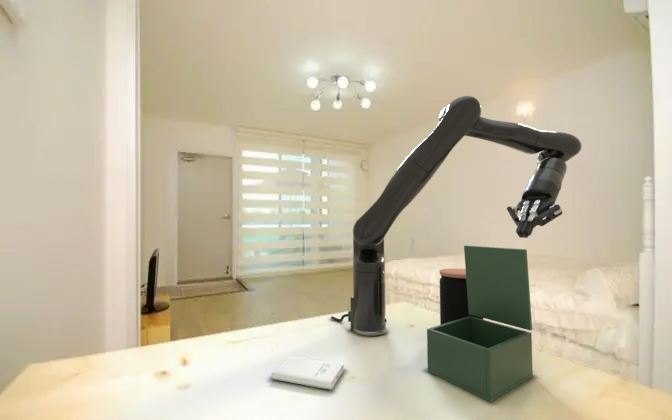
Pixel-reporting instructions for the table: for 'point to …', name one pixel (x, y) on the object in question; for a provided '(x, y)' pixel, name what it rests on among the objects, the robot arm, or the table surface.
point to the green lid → (498, 285)
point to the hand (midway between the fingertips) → (522, 235)
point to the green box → (480, 356)
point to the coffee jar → (453, 295)
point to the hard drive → (308, 372)
